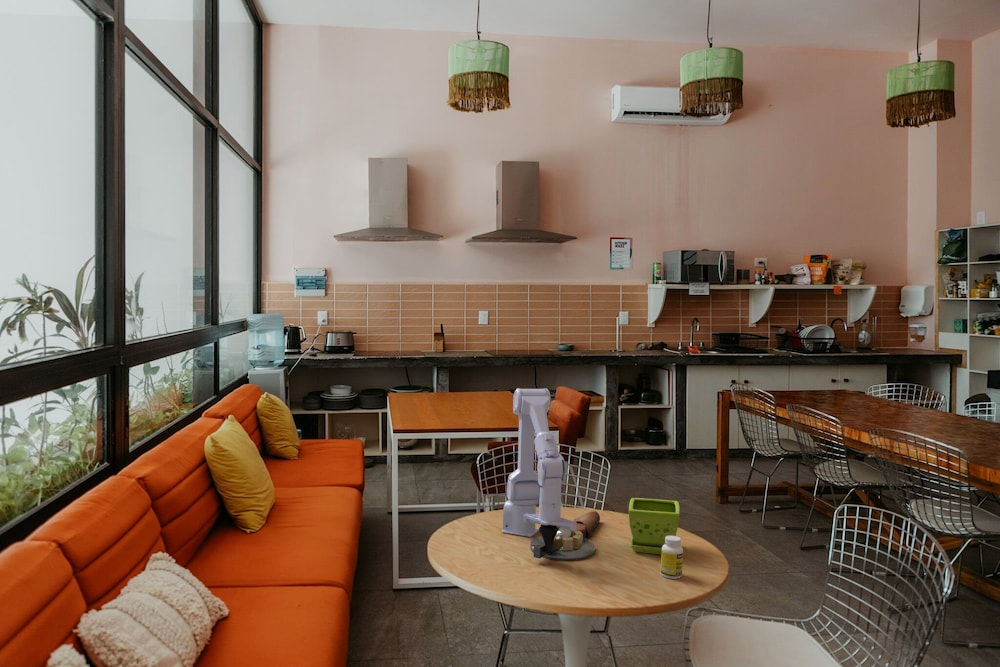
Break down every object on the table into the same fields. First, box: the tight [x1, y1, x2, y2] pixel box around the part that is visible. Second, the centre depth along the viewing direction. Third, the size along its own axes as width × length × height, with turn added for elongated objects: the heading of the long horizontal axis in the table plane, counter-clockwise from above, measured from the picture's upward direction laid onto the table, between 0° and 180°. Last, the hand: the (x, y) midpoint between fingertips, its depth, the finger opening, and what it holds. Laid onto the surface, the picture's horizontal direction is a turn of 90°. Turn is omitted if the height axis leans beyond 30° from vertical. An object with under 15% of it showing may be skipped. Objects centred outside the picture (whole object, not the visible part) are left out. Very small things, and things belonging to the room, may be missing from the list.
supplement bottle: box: [660, 535, 684, 580], centre depth 186 cm, size 5×5×10 cm
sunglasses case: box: [572, 510, 601, 540], centre depth 221 cm, size 18×7×7 cm
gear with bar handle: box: [533, 529, 583, 559], centre depth 199 cm, size 11×20×3 cm, turn 146°
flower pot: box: [628, 497, 681, 555], centre depth 205 cm, size 14×14×13 cm
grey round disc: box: [529, 528, 596, 562], centre depth 203 cm, size 18×18×5 cm
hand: (548, 552), depth 193 cm, fingers closed
